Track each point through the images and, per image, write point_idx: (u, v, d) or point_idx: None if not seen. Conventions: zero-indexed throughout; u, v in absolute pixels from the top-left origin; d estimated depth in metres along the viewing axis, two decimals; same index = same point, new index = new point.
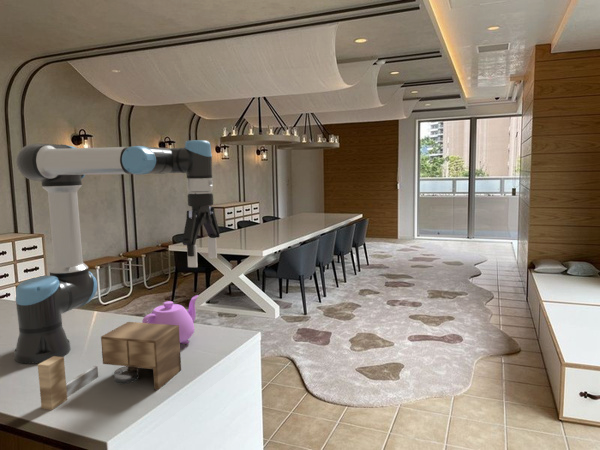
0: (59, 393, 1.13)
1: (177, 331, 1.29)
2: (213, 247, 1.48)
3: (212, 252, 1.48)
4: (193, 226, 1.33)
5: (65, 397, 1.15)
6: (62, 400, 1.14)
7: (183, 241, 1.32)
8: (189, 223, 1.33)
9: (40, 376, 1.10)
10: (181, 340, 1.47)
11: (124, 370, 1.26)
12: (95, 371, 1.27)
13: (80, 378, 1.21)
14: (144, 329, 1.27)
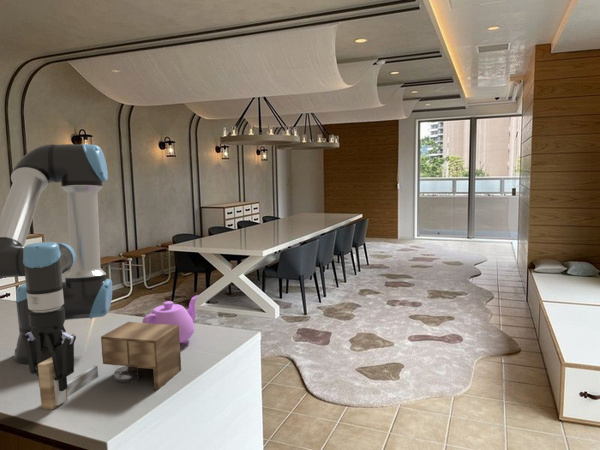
0: None
1: (177, 331, 1.29)
2: None
3: None
4: (28, 353, 1.12)
5: None
6: None
7: None
8: None
9: (40, 376, 1.10)
10: (181, 340, 1.47)
11: (124, 370, 1.26)
12: (95, 371, 1.27)
13: (80, 378, 1.21)
14: (144, 329, 1.27)
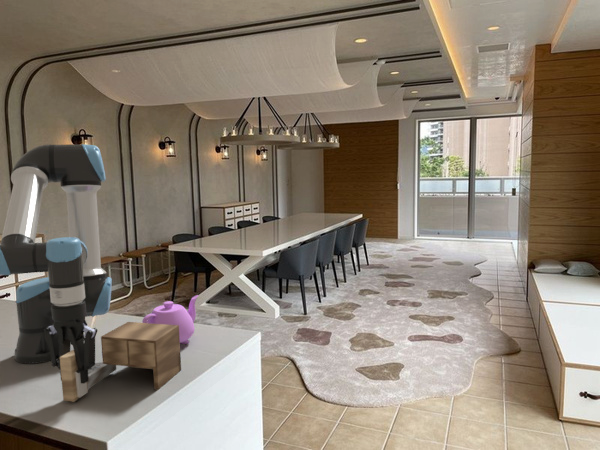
0: None
1: (177, 331, 1.29)
2: None
3: None
4: (50, 346, 1.14)
5: None
6: None
7: None
8: None
9: (62, 368, 1.12)
10: (181, 340, 1.47)
11: (96, 367, 1.29)
12: None
13: (99, 371, 1.24)
14: (144, 329, 1.27)
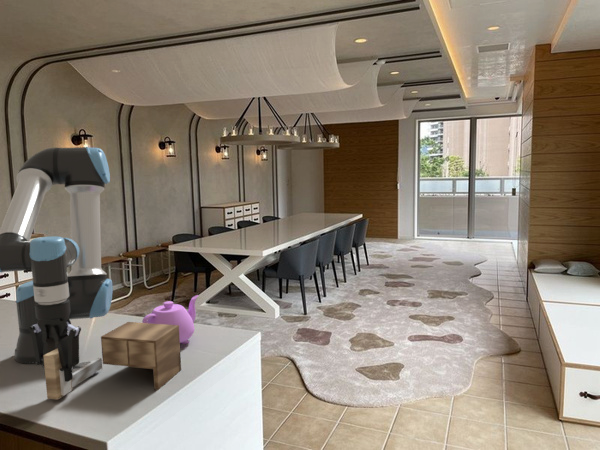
0: None
1: (177, 331, 1.29)
2: None
3: None
4: (34, 344, 1.15)
5: None
6: None
7: None
8: None
9: (46, 367, 1.13)
10: (181, 340, 1.47)
11: (82, 366, 1.30)
12: (99, 363, 1.30)
13: (85, 369, 1.24)
14: (144, 329, 1.27)
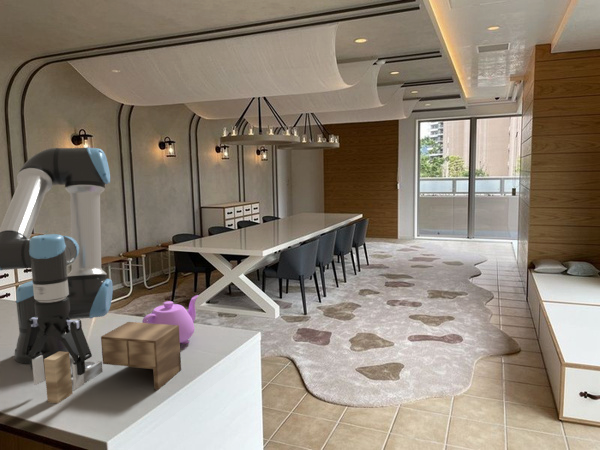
0: (65, 387, 1.16)
1: (177, 331, 1.29)
2: None
3: None
4: (27, 336, 1.15)
5: (70, 391, 1.18)
6: (67, 394, 1.17)
7: None
8: None
9: (46, 370, 1.13)
10: (181, 340, 1.47)
11: None
12: (99, 366, 1.30)
13: (85, 373, 1.25)
14: (144, 329, 1.27)
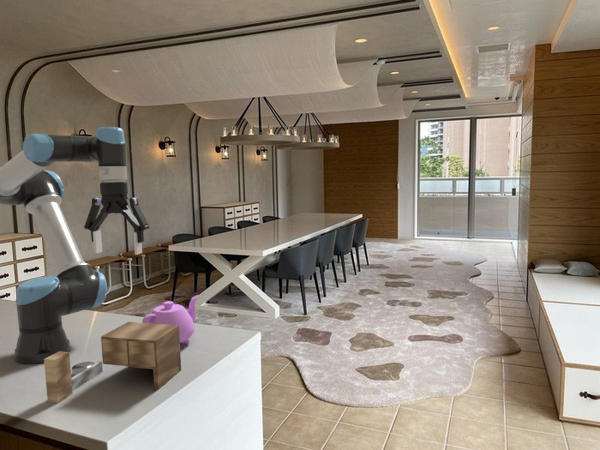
0: (65, 387, 1.16)
1: (177, 331, 1.29)
2: None
3: None
4: (90, 213, 1.38)
5: (70, 391, 1.18)
6: (67, 394, 1.17)
7: None
8: None
9: (46, 370, 1.13)
10: (181, 340, 1.47)
11: (82, 366, 1.30)
12: (99, 366, 1.30)
13: (85, 373, 1.25)
14: (144, 329, 1.27)
